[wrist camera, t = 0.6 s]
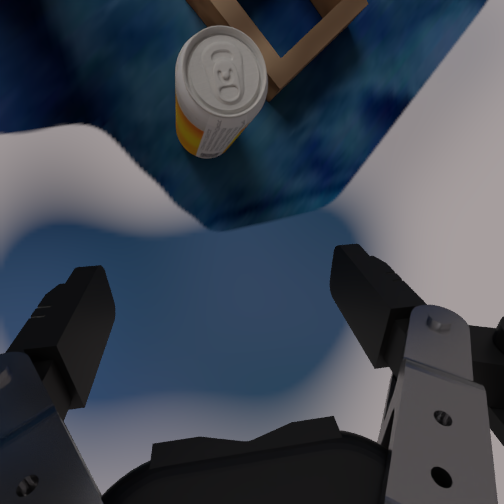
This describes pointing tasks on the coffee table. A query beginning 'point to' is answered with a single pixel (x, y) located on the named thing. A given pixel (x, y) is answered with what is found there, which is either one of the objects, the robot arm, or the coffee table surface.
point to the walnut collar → (294, 61)
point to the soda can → (217, 89)
